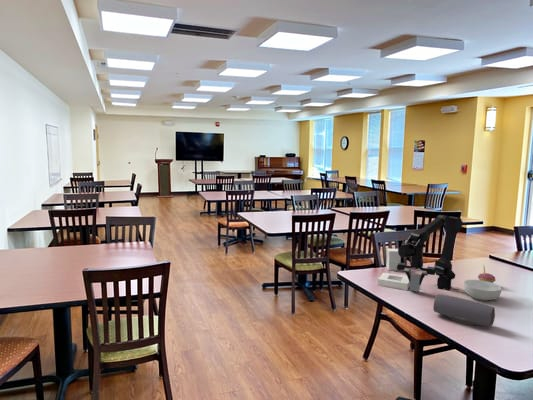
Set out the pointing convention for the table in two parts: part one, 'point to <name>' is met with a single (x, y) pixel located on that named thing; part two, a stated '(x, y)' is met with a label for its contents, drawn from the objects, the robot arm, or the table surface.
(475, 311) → the bluetooth speaker
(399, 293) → the table surface
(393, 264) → the white rectangular block
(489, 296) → the cereal bowl
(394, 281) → the square frame
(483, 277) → the cupcake
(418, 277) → the dark grey square post
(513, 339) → the table surface
